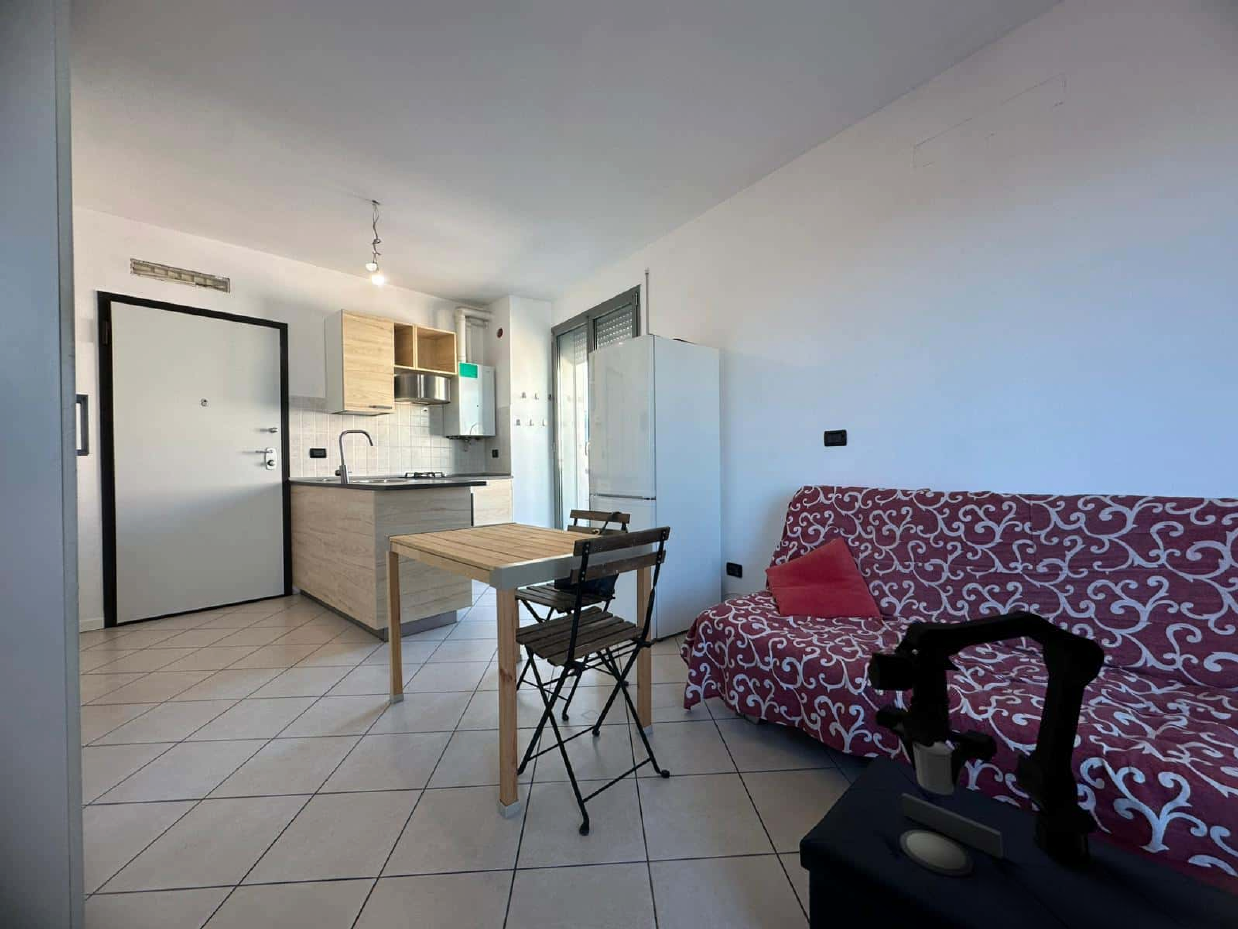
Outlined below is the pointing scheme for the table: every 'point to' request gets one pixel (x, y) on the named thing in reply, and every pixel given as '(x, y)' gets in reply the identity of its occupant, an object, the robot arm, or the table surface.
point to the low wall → (953, 825)
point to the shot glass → (934, 767)
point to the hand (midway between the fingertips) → (935, 777)
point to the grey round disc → (936, 853)
